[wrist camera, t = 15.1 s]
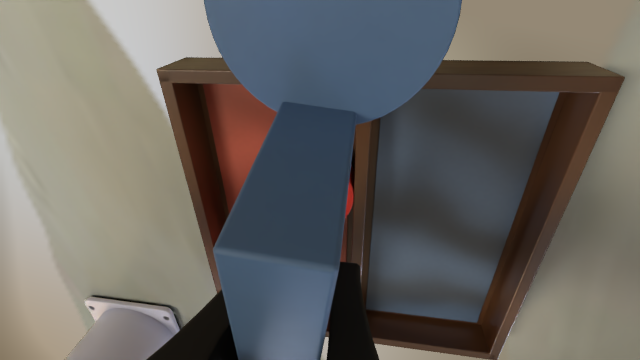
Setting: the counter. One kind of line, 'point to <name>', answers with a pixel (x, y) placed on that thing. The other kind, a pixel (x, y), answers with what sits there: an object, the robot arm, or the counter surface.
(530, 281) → the sorting tray
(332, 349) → the robot arm
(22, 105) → the counter surface
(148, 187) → the counter surface
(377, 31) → the blue spoon
